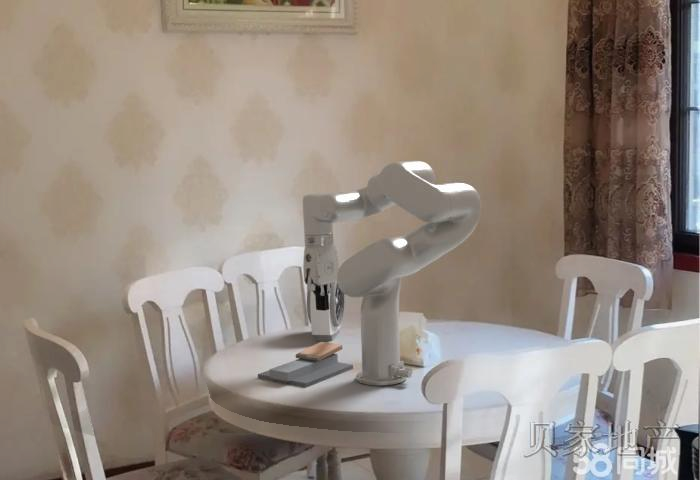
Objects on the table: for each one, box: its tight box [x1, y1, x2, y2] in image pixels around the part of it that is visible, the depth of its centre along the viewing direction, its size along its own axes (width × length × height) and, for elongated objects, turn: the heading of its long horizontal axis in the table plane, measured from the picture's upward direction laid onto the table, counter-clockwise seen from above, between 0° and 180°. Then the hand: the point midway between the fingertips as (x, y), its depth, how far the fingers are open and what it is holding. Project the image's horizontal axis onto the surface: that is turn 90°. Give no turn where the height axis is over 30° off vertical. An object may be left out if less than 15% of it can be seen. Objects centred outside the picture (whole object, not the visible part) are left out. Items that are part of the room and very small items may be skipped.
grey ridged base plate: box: [257, 353, 354, 388], centre depth 217 cm, size 16×20×3 cm
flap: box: [295, 341, 343, 361], centre depth 221 cm, size 7×11×1 cm, turn 144°
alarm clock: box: [306, 281, 346, 342], centre depth 256 cm, size 18×8×20 cm, turn 168°
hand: (322, 309), depth 221 cm, fingers closed
